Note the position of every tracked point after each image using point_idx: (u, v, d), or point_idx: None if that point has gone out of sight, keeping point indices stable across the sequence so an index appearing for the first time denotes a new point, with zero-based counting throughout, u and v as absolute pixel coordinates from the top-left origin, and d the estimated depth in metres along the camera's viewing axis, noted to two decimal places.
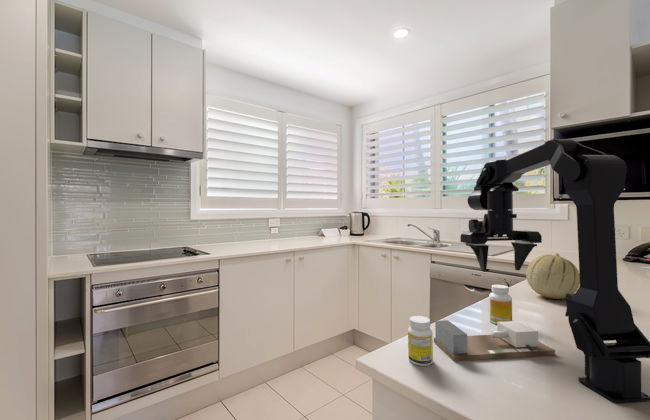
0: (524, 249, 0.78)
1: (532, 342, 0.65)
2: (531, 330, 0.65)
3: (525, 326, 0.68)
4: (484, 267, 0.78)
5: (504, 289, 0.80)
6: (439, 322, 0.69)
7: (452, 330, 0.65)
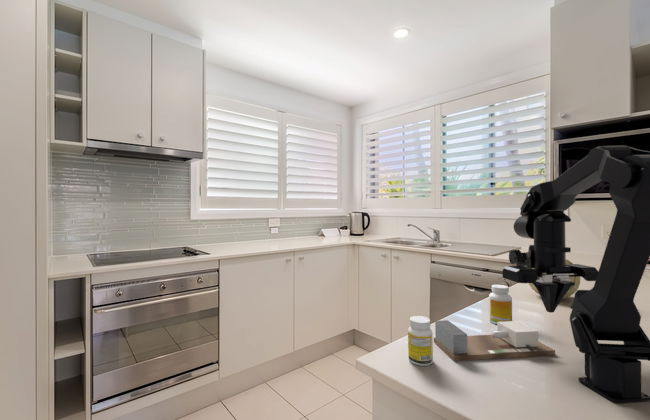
0: (559, 289, 0.66)
1: (532, 342, 0.65)
2: (531, 330, 0.65)
3: (525, 326, 0.68)
4: (550, 308, 0.68)
5: (504, 289, 0.80)
6: (439, 322, 0.69)
7: (452, 330, 0.65)
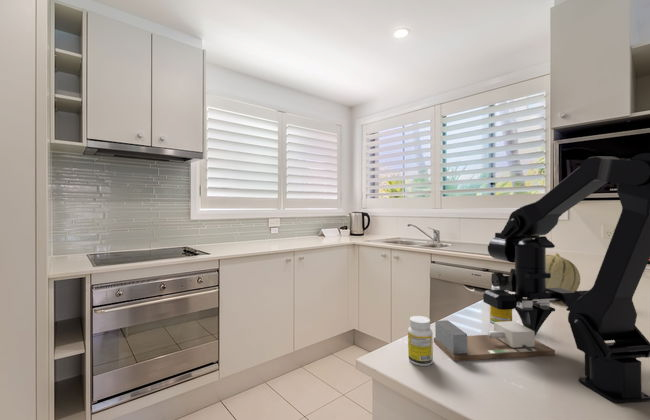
0: (539, 314, 0.66)
1: (528, 342, 0.65)
2: (527, 330, 0.65)
3: (522, 326, 0.68)
4: None
5: None
6: (439, 322, 0.69)
7: (452, 330, 0.65)
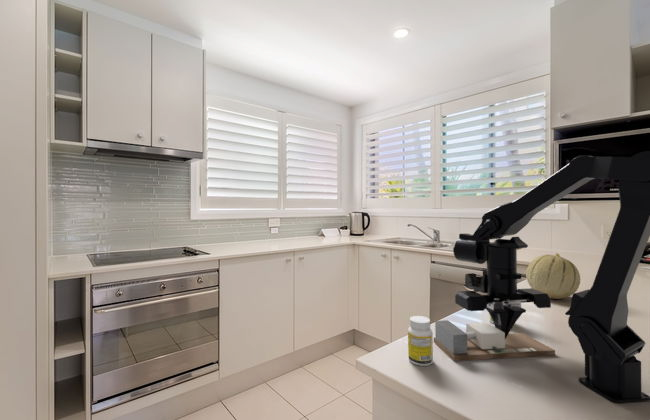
0: (510, 315, 0.66)
1: (499, 344, 0.64)
2: (498, 332, 0.65)
3: (493, 328, 0.67)
4: None
5: None
6: (439, 322, 0.69)
7: (452, 330, 0.65)
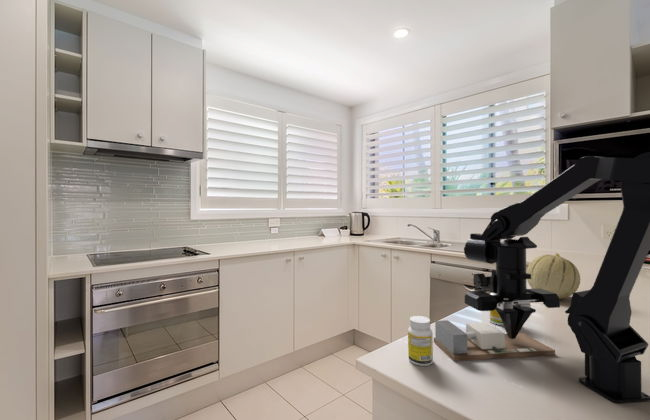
0: (520, 315, 0.66)
1: (499, 344, 0.64)
2: (498, 332, 0.65)
3: (493, 328, 0.67)
4: (512, 334, 0.67)
5: None
6: (439, 322, 0.69)
7: (452, 330, 0.65)
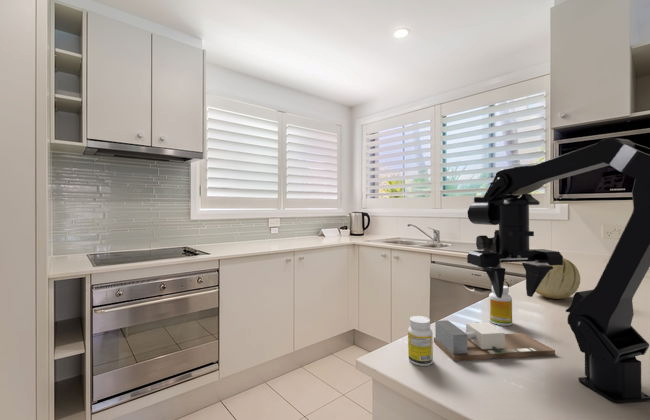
0: (538, 272, 0.66)
1: (499, 344, 0.64)
2: (498, 332, 0.65)
3: (493, 328, 0.67)
4: (500, 293, 0.67)
5: (504, 289, 0.80)
6: (439, 322, 0.69)
7: (452, 330, 0.65)
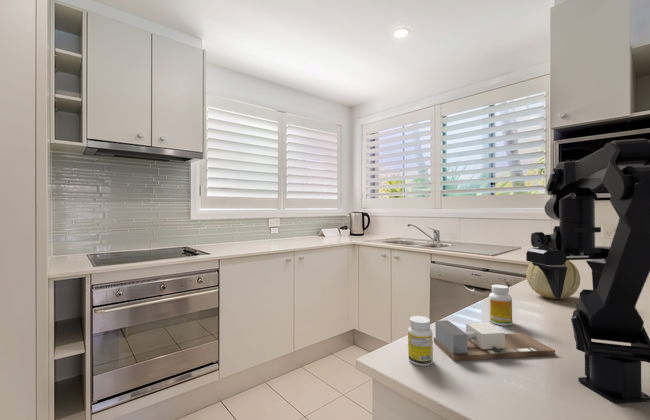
0: None
1: (499, 344, 0.64)
2: (498, 332, 0.65)
3: (493, 328, 0.67)
4: (559, 293, 0.62)
5: (504, 289, 0.80)
6: (439, 322, 0.69)
7: (452, 330, 0.65)
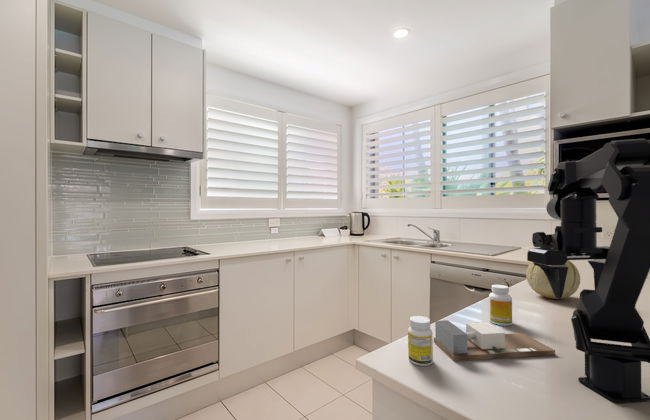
0: None
1: (499, 344, 0.64)
2: (498, 332, 0.65)
3: (493, 328, 0.67)
4: (560, 293, 0.62)
5: (504, 289, 0.80)
6: (439, 322, 0.69)
7: (452, 330, 0.65)
